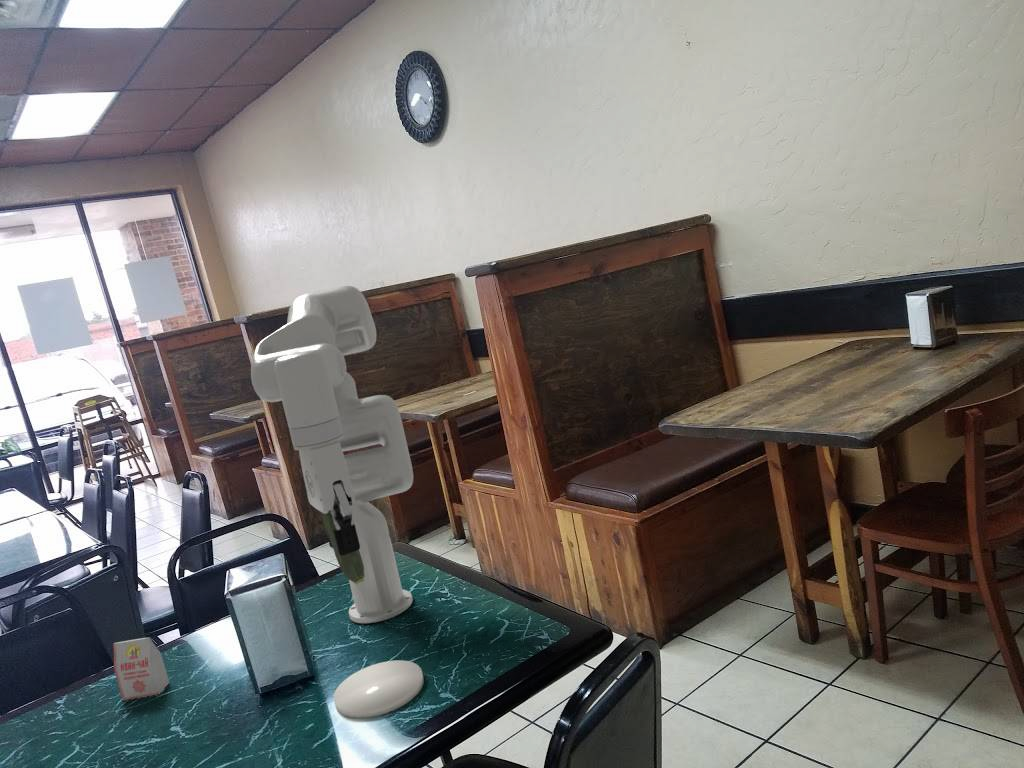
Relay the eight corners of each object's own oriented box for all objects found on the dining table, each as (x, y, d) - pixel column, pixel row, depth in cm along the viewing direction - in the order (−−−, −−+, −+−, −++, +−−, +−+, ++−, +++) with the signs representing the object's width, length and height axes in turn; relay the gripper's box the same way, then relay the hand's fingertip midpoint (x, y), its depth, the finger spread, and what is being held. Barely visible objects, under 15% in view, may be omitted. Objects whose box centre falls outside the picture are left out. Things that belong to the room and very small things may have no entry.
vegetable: (361, 590, 118) (330, 464, 114) (335, 593, 119) (303, 468, 115) (372, 578, 122) (342, 455, 119) (347, 581, 123) (316, 459, 120)
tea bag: (134, 689, 141) (119, 638, 139) (169, 683, 140) (154, 632, 139) (123, 700, 137) (107, 648, 136) (159, 694, 137) (144, 642, 135)
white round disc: (324, 692, 126) (323, 686, 125) (404, 657, 132) (403, 651, 132) (350, 730, 113) (349, 722, 113) (437, 689, 120) (436, 682, 120)
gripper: (279, 434, 122) (307, 544, 125) (306, 447, 107) (337, 571, 110) (326, 421, 125) (352, 528, 128) (358, 432, 111) (386, 553, 114)
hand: (345, 547), depth 119 cm, fingers closed on vegetable, 4 cm apart
